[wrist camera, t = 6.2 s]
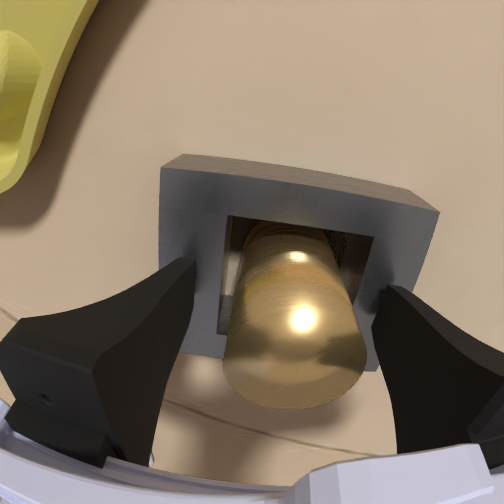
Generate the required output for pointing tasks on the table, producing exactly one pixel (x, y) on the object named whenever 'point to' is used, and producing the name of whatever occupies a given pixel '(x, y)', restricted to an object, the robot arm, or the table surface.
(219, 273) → the frame
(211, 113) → the table surface
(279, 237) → the gold metal cylinder
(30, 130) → the plastic component
